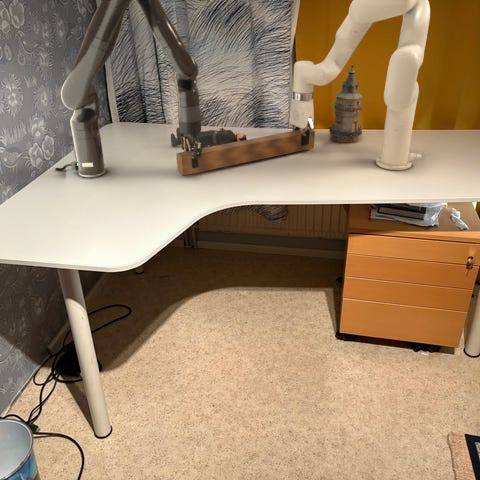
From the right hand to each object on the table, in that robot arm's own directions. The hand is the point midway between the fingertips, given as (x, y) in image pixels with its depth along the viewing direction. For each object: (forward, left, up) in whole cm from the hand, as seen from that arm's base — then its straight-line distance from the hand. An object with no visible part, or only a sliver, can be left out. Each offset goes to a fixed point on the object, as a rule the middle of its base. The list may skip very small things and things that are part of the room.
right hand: (301, 142), depth 208 cm
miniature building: (-20, -12, -3) cm, 24 cm away
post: (+21, +9, -2) cm, 23 cm away
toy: (+35, -11, -3) cm, 37 cm away
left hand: (+42, +19, 0) cm, 46 cm away
